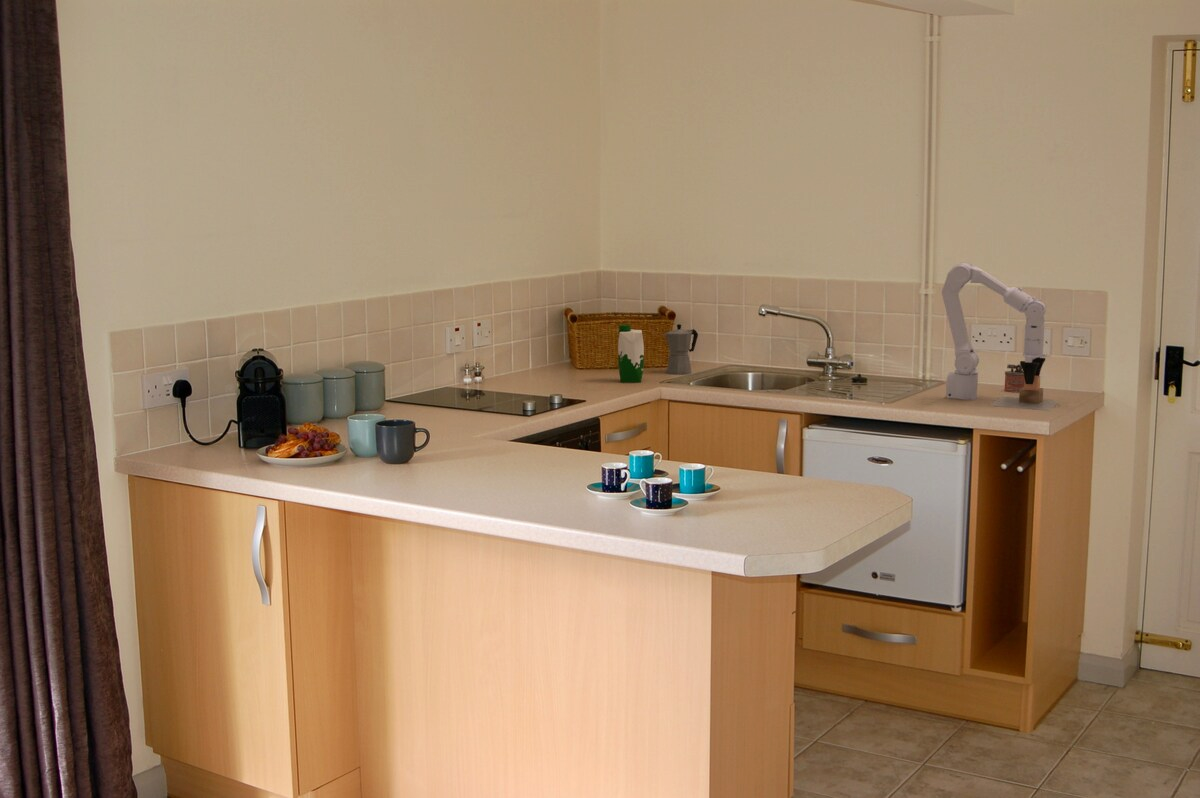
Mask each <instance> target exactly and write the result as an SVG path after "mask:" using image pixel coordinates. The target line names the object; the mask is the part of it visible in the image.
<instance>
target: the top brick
mask: <svg viewBox="0 0 1200 798" xmlns="http://www.w3.org/2000/svg"><path fill="white" fill-rule="evenodd" d="M1040 386H1041V375H1039V376H1035V378H1034V382H1033V384H1026V383H1025V379H1024V390H1039V389H1040V388H1041V387H1040Z"/></svg>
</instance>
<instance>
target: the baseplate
mask: <svg viewBox="0 0 1200 798" xmlns="http://www.w3.org/2000/svg"><path fill="white" fill-rule="evenodd" d="M1060 402H1061V401H1060V400H1051V399H1050V400H1049V399H1043V401H1042V402H1040V403H1039V404H1034V403H1022V402H1019V397H1011V396H1000V397H999V398H998V399H996V400H995V401H994V402H992V403H991V404H988V406H989V407H1000V408H1012V409H1013V408H1014V409H1026V410H1036V411H1038V410H1039V411H1051V409H1053V408H1054V407H1055V406H1056V405H1058V404H1059V403H1060Z"/></svg>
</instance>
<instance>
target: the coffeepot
mask: <svg viewBox="0 0 1200 798" xmlns="http://www.w3.org/2000/svg"><path fill="white" fill-rule="evenodd" d="M676 327H677V329H674V330H669V331H666V332H665V333H664V337H665V338H666V341H667V347H668V351H669V355H668V360H667V366H666V373H667V374H668V375H676V376H677V375H679V376H680V375H689V374H691V373H692V366H691V360H690V355H689V353H690V352H691V353H692V352H694V351H695V348H696V344H697V340H698V338H699V334H698V332H697V331H696V329H694V328H693V329H692V328H691V329H686V330H685V329H682V324H680V323H678V324H676ZM692 335H693V337H692ZM691 341H692V343H691ZM690 346H691V348H690Z"/></svg>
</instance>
